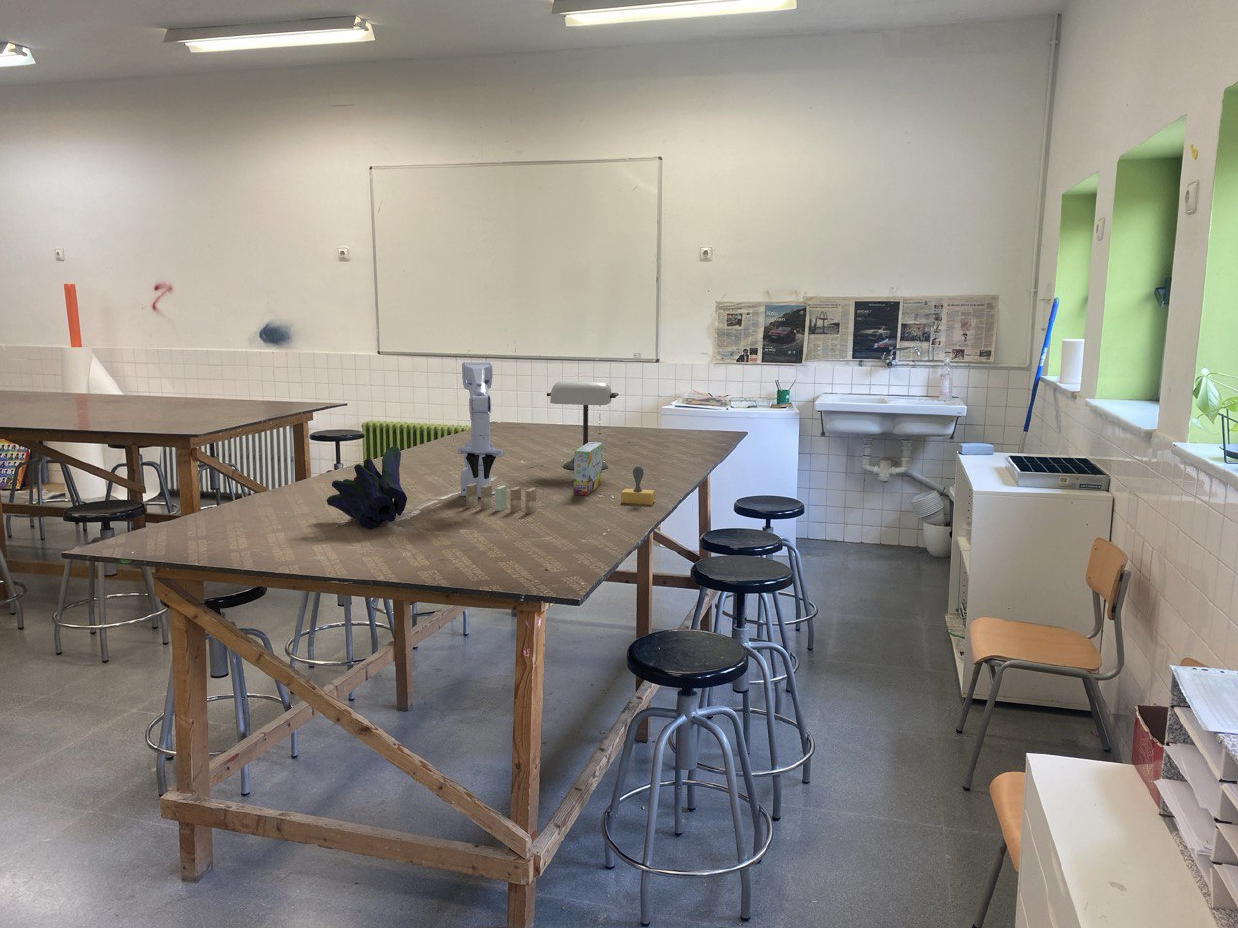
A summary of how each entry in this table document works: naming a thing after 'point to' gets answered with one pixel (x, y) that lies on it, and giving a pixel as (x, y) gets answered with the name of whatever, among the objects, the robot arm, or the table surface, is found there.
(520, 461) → the table surface
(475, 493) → the domino
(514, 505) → the domino
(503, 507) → the domino
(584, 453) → the snack box
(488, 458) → the robot arm
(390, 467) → the dark blue lobed piece
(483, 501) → the domino
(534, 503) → the domino
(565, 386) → the lamp
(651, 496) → the rubber stamp
